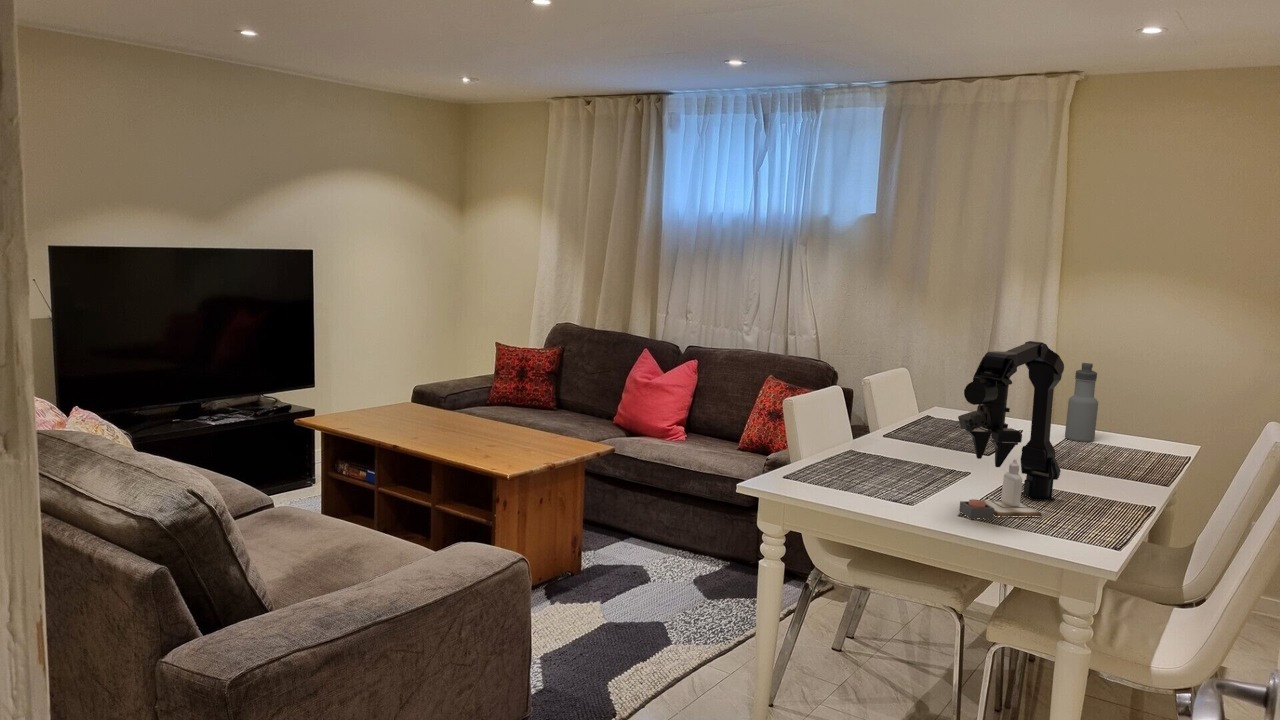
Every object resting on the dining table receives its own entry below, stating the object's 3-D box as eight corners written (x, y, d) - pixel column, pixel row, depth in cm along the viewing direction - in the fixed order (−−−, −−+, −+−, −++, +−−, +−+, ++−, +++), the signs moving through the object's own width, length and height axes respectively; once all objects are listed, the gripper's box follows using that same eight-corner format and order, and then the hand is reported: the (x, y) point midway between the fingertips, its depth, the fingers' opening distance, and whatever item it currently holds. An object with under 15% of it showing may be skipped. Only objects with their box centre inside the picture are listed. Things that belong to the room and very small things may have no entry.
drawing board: (1017, 505, 245) (1018, 499, 245) (1041, 517, 234) (1041, 512, 234) (975, 505, 244) (976, 499, 243) (997, 517, 233) (997, 512, 233)
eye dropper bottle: (1001, 505, 239) (1006, 461, 237) (1000, 499, 244) (1005, 456, 242) (1019, 508, 237) (1024, 463, 236) (1018, 501, 243) (1023, 458, 241)
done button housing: (980, 512, 237) (982, 501, 236) (992, 519, 231) (994, 508, 231) (959, 512, 236) (960, 501, 236) (970, 519, 230) (971, 508, 230)
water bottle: (1064, 435, 341) (1072, 360, 337) (1094, 438, 337) (1102, 363, 333) (1064, 440, 332) (1072, 363, 328) (1094, 443, 328) (1102, 366, 324)
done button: (979, 506, 236) (980, 499, 235) (987, 511, 232) (988, 504, 231) (965, 507, 235) (965, 499, 235) (972, 511, 231) (973, 504, 231)
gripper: (947, 395, 239) (941, 453, 241) (983, 407, 221) (976, 471, 223) (987, 396, 241) (980, 454, 243) (1026, 409, 222) (1019, 472, 224)
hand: (988, 462), depth 233 cm, fingers open, 9 cm apart
